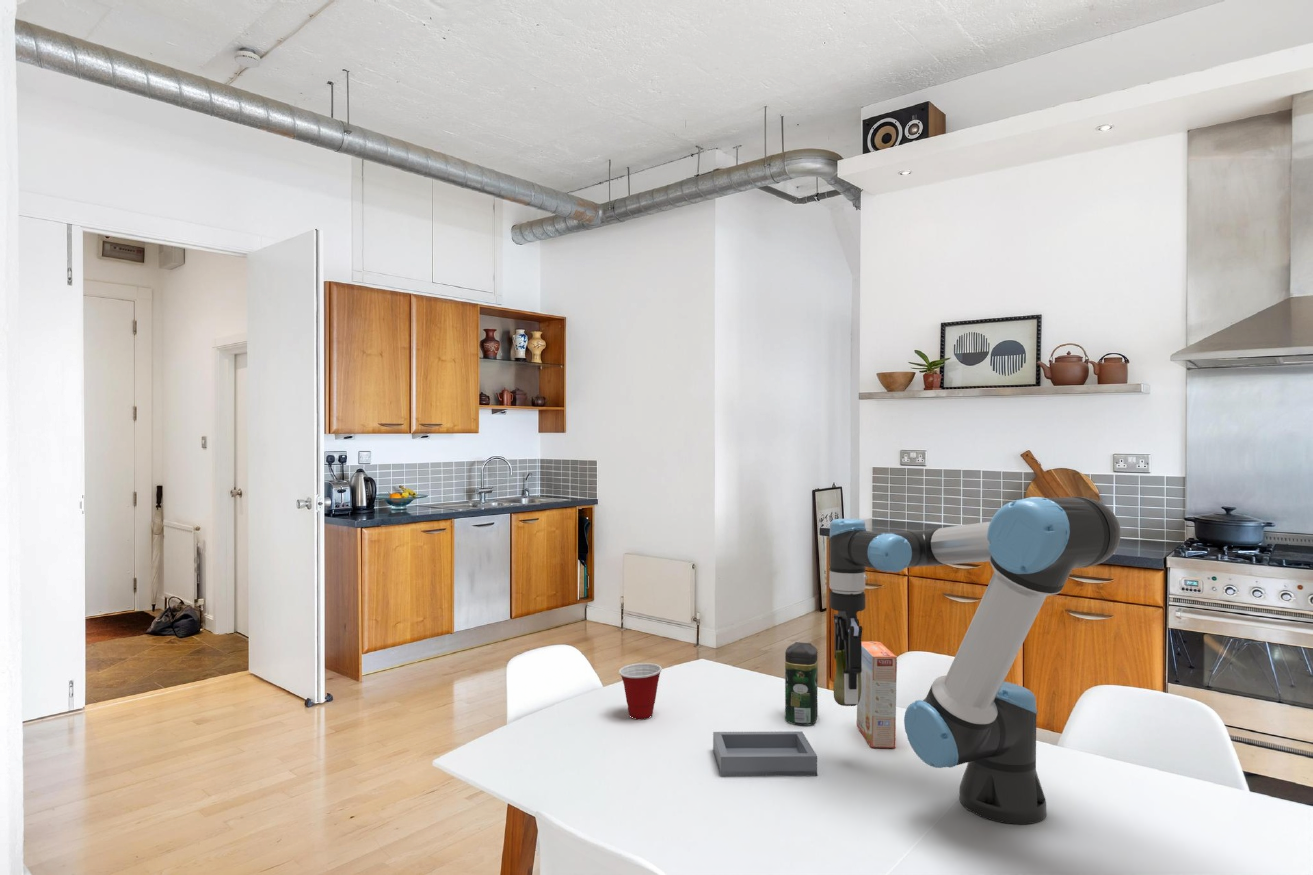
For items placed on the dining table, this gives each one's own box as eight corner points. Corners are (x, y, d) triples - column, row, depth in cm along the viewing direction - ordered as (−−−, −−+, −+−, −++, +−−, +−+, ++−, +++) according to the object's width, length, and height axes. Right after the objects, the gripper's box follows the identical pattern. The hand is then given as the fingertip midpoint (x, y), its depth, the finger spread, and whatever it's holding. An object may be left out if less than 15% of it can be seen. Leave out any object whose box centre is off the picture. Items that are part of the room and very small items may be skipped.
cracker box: (897, 749, 177) (898, 656, 177) (870, 748, 177) (871, 655, 177) (881, 726, 191) (881, 640, 191) (856, 726, 191) (856, 640, 191)
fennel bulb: (861, 703, 171) (861, 647, 171) (861, 710, 166) (861, 653, 167) (834, 700, 173) (834, 645, 173) (833, 707, 168) (833, 651, 168)
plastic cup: (613, 711, 201) (613, 663, 201) (653, 707, 204) (654, 660, 204) (624, 725, 190) (625, 675, 190) (667, 721, 194) (667, 672, 194)
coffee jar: (787, 711, 201) (788, 638, 202) (819, 715, 199) (819, 641, 199) (782, 724, 192) (782, 648, 192) (815, 728, 190) (815, 651, 190)
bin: (817, 775, 162) (817, 756, 162) (720, 776, 162) (720, 756, 162) (802, 749, 176) (802, 731, 176) (713, 749, 176) (713, 731, 176)
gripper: (877, 598, 161) (878, 713, 161) (852, 584, 179) (852, 687, 179) (841, 598, 161) (841, 713, 160) (820, 584, 179) (820, 687, 178)
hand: (847, 699), depth 170 cm, fingers closed on fennel bulb, 5 cm apart
